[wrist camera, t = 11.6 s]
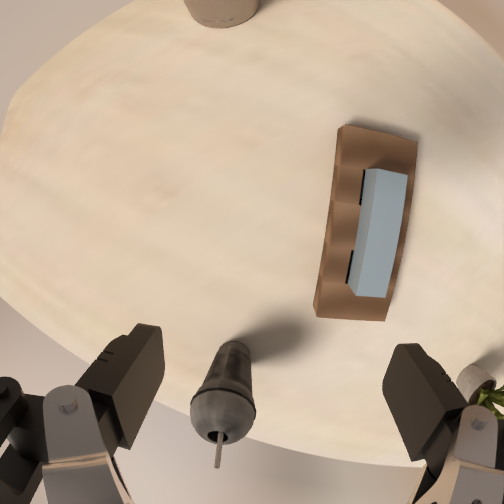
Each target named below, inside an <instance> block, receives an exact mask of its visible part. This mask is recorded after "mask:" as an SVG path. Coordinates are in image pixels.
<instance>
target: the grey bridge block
mask: <svg viewBox="0 0 504 504" xmlns="http://www.w3.org/2000/svg"><path fill="white" fill-rule="evenodd" d="M407 177H408V175H405V174H400V173H396V172H391V171H387V170H382V169H366V171H365V177H362V184H361V192H360V197H362V204H361V211H360V218H359V224H358V230H357V237H356V243H355V248H354V251H351V255H350V261H349V266H348V271H349V273H350V275H349V280H348V285H349V286H350V288H351V289H352V291H353V292H354V294H355V295H356V296H367V297H381V298H385V297H386V293H387V289H388V285H389V281H390V277H391V272H392V268H393V263H394V259H395V254H396V249H397V244H398V238H399V233H400V227H401V221H402V215H403V208H404V201H405V194H406V186H407Z"/></svg>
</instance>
